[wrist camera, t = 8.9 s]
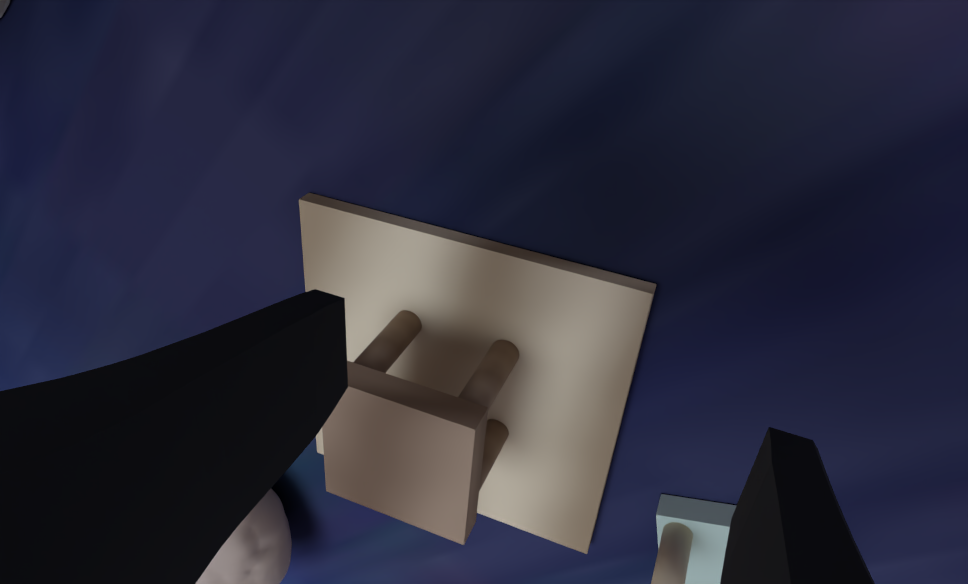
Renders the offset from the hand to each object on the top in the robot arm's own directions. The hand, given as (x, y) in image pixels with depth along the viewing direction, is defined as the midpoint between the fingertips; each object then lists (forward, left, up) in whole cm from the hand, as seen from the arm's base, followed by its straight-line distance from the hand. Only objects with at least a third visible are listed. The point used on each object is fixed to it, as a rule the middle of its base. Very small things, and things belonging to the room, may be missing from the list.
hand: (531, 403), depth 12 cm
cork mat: (+5, +9, -10) cm, 14 cm away
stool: (+5, +8, -9) cm, 13 cm away
